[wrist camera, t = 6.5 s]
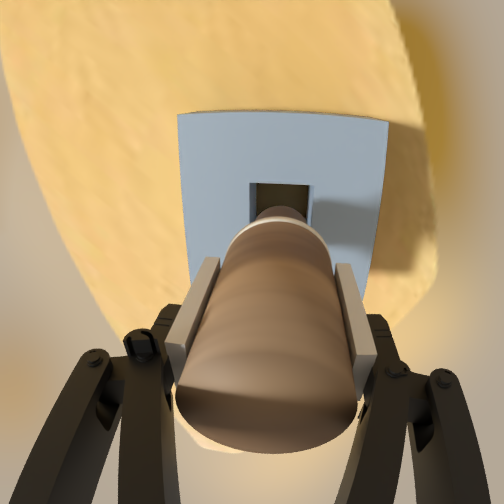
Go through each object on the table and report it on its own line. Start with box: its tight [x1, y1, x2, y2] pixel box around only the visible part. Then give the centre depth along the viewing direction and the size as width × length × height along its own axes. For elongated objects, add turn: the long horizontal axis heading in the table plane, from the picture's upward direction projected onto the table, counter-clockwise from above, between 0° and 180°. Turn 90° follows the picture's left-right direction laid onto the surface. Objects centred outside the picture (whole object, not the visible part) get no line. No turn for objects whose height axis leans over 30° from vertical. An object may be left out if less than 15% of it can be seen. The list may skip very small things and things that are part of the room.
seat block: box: [177, 110, 389, 301], centre depth 28 cm, size 16×16×6 cm
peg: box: [175, 206, 358, 454], centre depth 16 cm, size 6×6×15 cm
